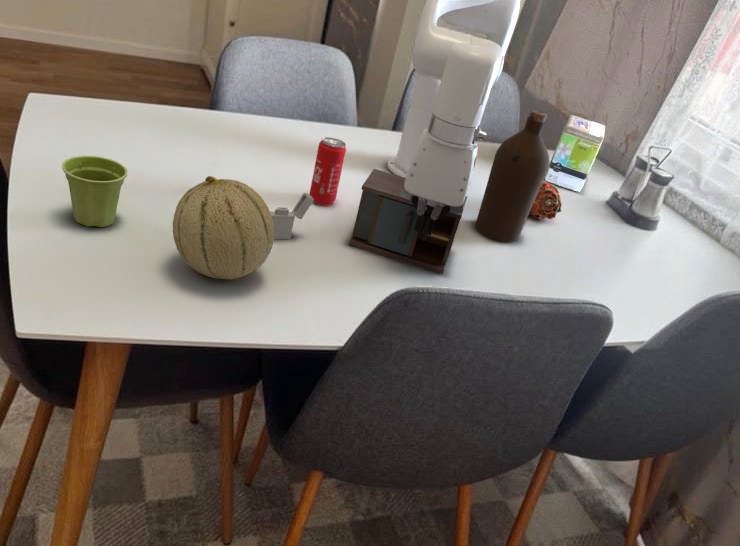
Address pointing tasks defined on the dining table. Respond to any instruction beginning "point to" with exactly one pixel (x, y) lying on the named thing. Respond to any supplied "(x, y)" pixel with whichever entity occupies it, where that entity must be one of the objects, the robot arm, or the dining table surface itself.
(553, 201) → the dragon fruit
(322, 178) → the beverage can
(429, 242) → the cabinet
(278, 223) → the lighter
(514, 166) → the olive oil
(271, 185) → the dining table surface
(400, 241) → the tinted door with handle
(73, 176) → the plant pot
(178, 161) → the dining table surface
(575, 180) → the tea box
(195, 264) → the cantaloupe
